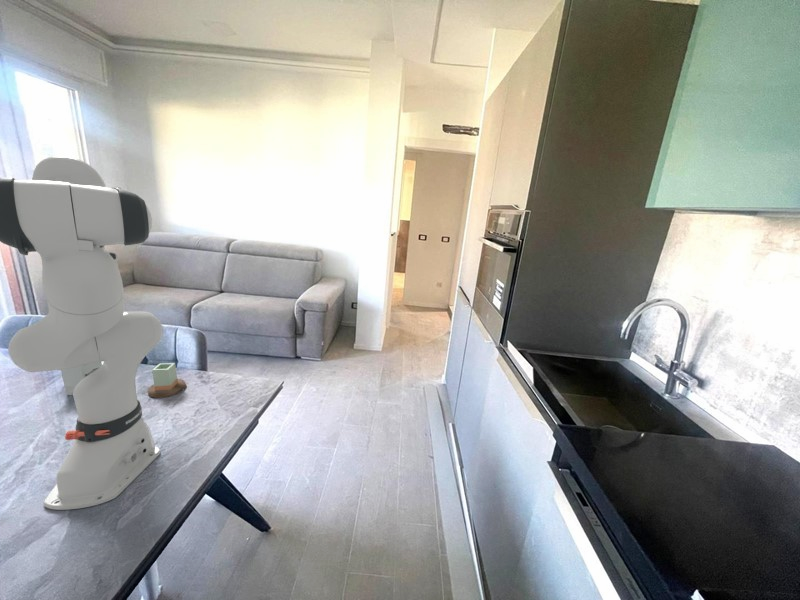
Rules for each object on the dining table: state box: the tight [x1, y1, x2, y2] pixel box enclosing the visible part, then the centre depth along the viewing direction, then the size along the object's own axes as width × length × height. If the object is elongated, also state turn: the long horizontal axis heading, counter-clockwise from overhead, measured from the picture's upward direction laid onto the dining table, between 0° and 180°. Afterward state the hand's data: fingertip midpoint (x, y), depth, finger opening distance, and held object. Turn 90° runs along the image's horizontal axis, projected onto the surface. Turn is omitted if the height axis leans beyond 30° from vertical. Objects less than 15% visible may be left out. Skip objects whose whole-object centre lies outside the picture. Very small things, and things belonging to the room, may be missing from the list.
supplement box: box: [60, 355, 103, 396], centre depth 110 cm, size 7×7×13 cm
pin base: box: [147, 378, 186, 399], centre depth 114 cm, size 11×11×6 cm
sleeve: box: [151, 362, 179, 391], centre depth 113 cm, size 5×5×8 cm
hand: (94, 302), depth 97 cm, fingers open, 8 cm apart
